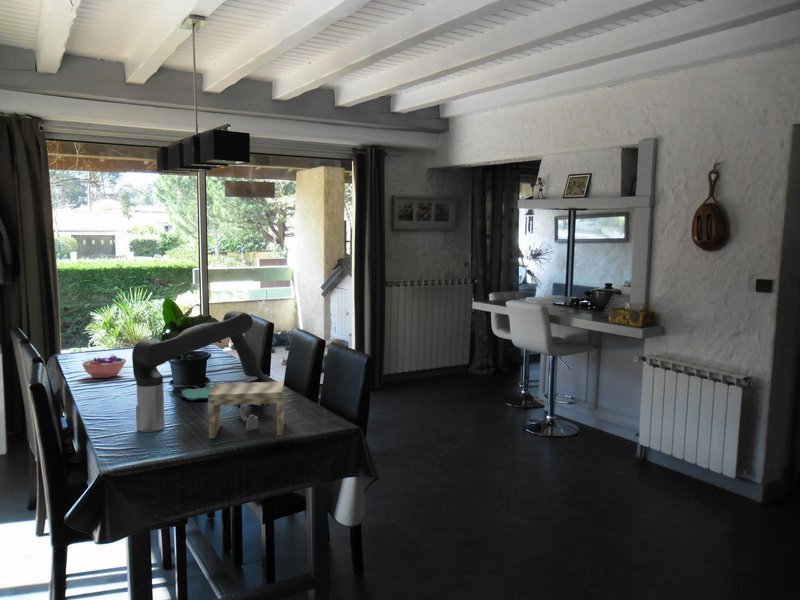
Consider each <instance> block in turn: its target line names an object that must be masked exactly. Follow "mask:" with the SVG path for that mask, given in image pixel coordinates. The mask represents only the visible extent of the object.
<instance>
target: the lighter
mask: <svg viewBox="0 0 800 600" xmlns="http://www.w3.org/2000/svg"><path fill="white" fill-rule="evenodd" d="M237 413H238V414H239V416H240V418H241V420H242V421H243V422H245V429H246V431H251V430H257V429H259V417H258V416H256V415H255V414H249V415H248V417H247V416H246V415H245V411H243V409H238V411H237Z"/></svg>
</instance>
